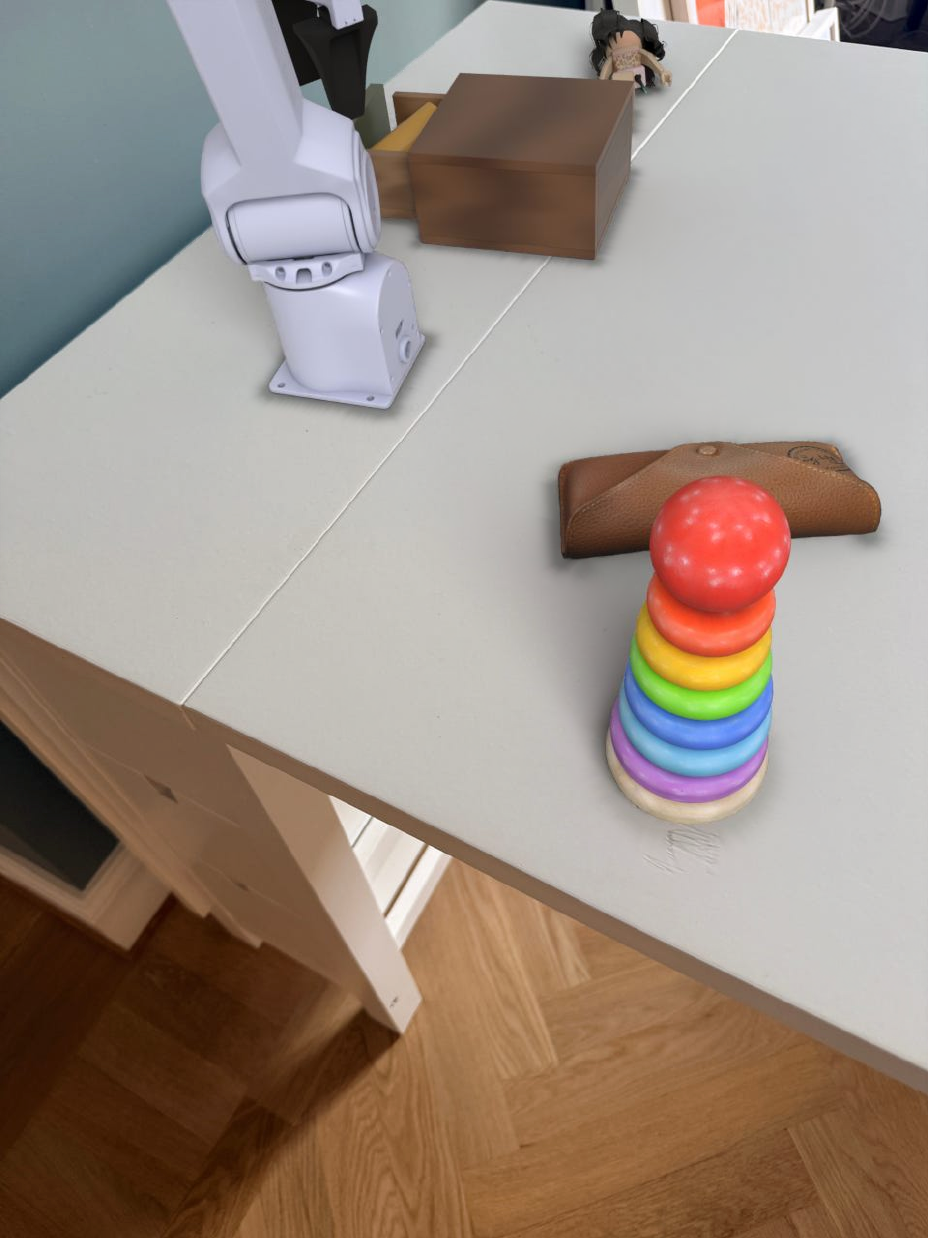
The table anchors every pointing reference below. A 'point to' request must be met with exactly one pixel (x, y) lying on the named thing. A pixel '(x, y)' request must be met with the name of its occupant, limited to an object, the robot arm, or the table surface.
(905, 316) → the table surface
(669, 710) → the stacking toy
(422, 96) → the drawer
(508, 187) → the cabinet
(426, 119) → the yellow cylinder
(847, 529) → the sunglasses case
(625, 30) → the toy figure
